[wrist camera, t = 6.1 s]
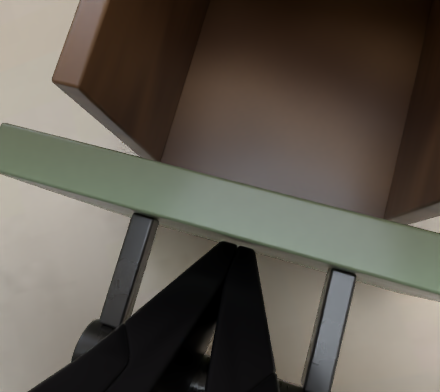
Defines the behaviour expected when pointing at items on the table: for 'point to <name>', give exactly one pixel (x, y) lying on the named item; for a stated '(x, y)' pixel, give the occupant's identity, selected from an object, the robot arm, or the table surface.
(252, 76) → the drawer
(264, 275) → the table surface
